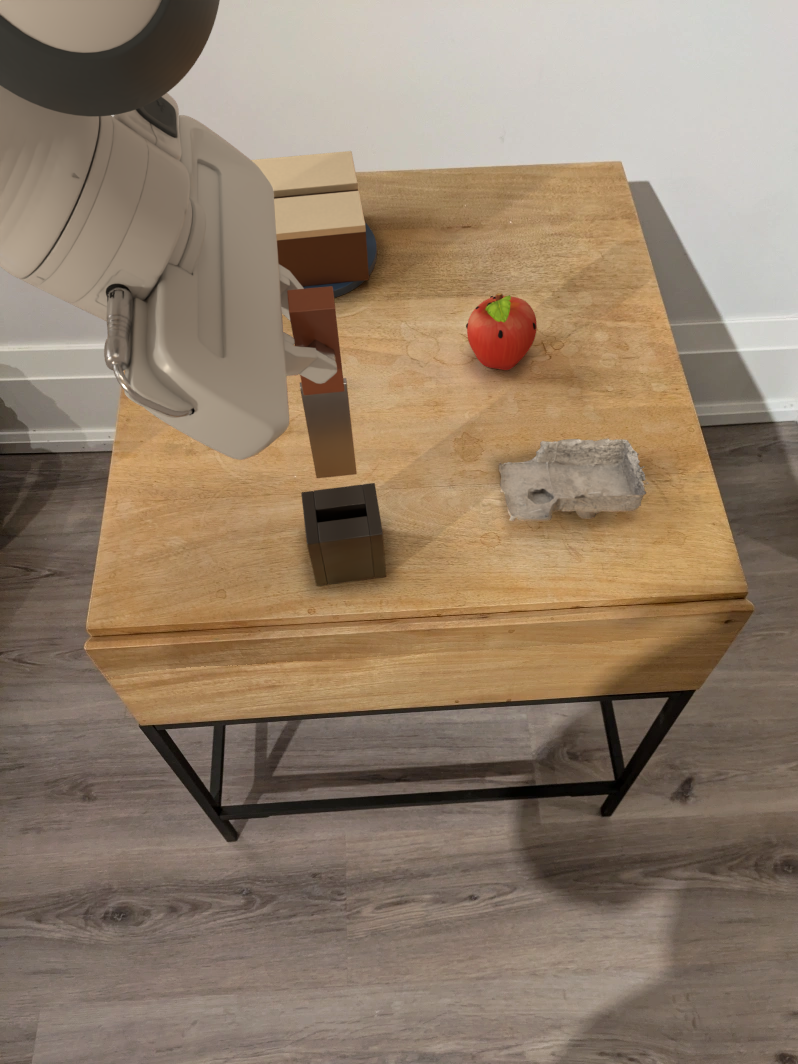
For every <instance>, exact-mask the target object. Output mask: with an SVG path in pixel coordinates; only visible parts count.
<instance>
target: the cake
mask: <svg viewBox="0 0 798 1064" xmlns="http://www.w3.org/2000/svg"><path fill="white" fill-rule="evenodd" d="M250 160H251V161H253V162H254V163H255V164H256V165H257V166H258V167H259V168H260V170H261V171H262V172H263V174H264V175H265V176H266V178H267V179H268V181H269V182H270V184H271V185H272V187H273V191H274V207H275V221H276V235H277V249H278V264H280V265H281V266H283V267H284V268H286V269H288V270H289V271H290V272H291V273H292V274H293V276H294V277H295V278H296V279H297V281H298V282H299V283H300V284H301V286H302V287H303V288H304V289H306V288H318V287H329V286H332V287H333V293H334V299H336V298H338V297H340V296H343V295H346V294H348V293H350V292H352V291H354V290H355V289H356V288H358V287H359V286H360V285H362V284H363V283H364V282H366V281H369V280H370V276H371V274H372V272H373V271H374V269H375V266H376V263H377V259H378V248H377V246H378V245H377V240H376V237H375V234H374V232H373V230H372V228H371V227H370V226H369V225H368V223H366V222H365V217H364V215H365V214H364V211H363V210H364V209H363V206H362V200H361V194H360V191H359V183H358V178H357V173H356V167H355V162H354V156H353V151H352V150H346V151H334V152H325V153H314V154H302V155H300V154H299V155H292V156H279V157H267V158H257V159H250Z"/></svg>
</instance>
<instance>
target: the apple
mask: <svg viewBox="0 0 798 1064" xmlns="http://www.w3.org/2000/svg"><path fill="white" fill-rule="evenodd" d="M503 294H504V293H502V292H498V293H496V294H495V296H493V295H491V296H490V297H488V298H486V299H485V300H483V301H482V302H480V303H479V304H478V305H477V306H476V307H475V308H474V309H473V310H472V312H471V313H470V315H469V318H468V320H467V323H466V325H465V328H466V335H467V340H468V344H469V346H470V349H471V350H472V351H473V353H474V355H475V357H476V359H477V360H478V361H479V363H480V364H482V365H483V366H485V367H486V368H489V369H497V370H502V371H509V370H512V369H513V368H514V367H515V366H516V365H518V363H519V362H520V361H521V360H522V359H523V358H524V357H525V356H526V354H527V353H529V351H530V349H531V347H532V346H533V344H534V341H535V339H536V335H537V329H538V328H537V327H538V326H537V325H538V324H537V323H538V322H537V318H536V317H537V316H536V313H535V311H534V309H533V308H532V306H531V305H530V303H528V301H526V300H524V299H522V298H521V297H520V298H519V297H516V296H511V295H510V294H509V295H503Z"/></svg>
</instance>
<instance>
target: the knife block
mask: <svg viewBox="0 0 798 1064" xmlns="http://www.w3.org/2000/svg"><path fill="white" fill-rule="evenodd" d="M300 495H301V503H302V504H301V505H302V514H303V521H304V522H303V523H304V532H305V541H306V547H307V552H308V556H309V560H310V565H311V569H312V574H313V578H314V582H315V586H316V587H322V586H328V585H329V586H330V585H336V584H337V585H338V584H343V583H351V582H358V581H365V580H372V579H381V578H387V572H386V558H385V544H384V533H383V526H382V525H383V524H382V519H381V513H380V507H379V502H378V501H379V499H378V495H377V488H376V483H375V482H371V483H363V484H355V485H348V486H338V487H330V488H322V489H316V490H315V489H314V490H309V491H302V492H301V494H300Z"/></svg>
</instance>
